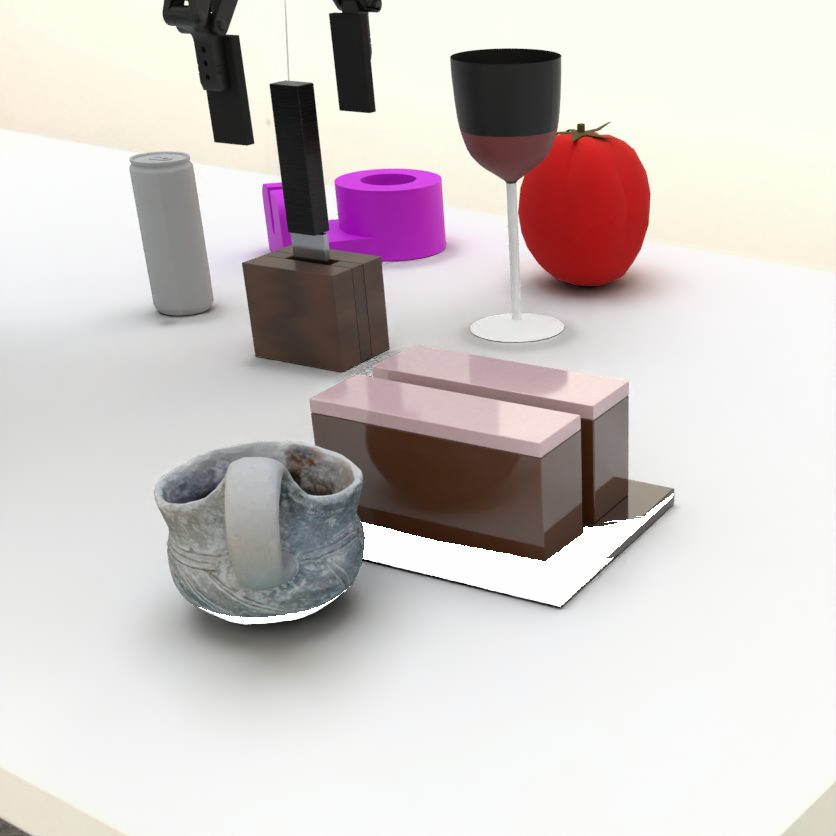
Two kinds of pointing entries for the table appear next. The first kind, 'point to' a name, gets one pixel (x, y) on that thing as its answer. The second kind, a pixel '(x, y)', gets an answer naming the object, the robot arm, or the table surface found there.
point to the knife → (301, 169)
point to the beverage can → (171, 232)
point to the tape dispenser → (374, 214)
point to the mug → (263, 527)
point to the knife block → (317, 308)
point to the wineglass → (509, 149)
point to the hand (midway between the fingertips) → (299, 126)
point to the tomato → (586, 208)
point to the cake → (486, 450)
